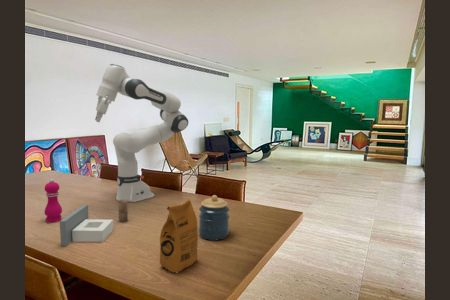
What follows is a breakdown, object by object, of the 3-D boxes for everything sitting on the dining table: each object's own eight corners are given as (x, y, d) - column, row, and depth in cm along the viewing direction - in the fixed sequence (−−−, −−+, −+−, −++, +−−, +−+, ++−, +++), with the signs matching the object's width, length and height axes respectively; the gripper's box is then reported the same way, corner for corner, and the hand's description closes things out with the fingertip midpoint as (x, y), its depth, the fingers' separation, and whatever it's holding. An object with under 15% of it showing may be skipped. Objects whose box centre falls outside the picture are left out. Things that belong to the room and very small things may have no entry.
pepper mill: (44, 224, 133) (41, 181, 131) (45, 218, 140) (43, 178, 137) (62, 221, 137) (60, 180, 134) (62, 216, 143) (60, 176, 140)
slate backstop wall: (88, 225, 132) (87, 204, 131) (66, 246, 113) (65, 221, 111) (84, 225, 132) (83, 204, 131) (61, 246, 112) (59, 221, 111)
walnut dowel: (125, 218, 142) (125, 199, 141) (129, 221, 139) (128, 201, 138) (117, 220, 139) (117, 200, 138) (120, 223, 136) (120, 202, 135)
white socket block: (113, 230, 129) (113, 219, 128) (103, 242, 117) (102, 230, 116) (85, 230, 128) (85, 219, 128) (72, 242, 117) (72, 230, 116)
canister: (217, 244, 118) (218, 201, 115) (192, 236, 124) (193, 196, 122) (234, 233, 128) (235, 194, 126) (210, 226, 135) (210, 189, 133)
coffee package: (155, 266, 100) (155, 204, 97) (181, 252, 110) (181, 196, 107) (175, 276, 94) (176, 211, 91) (201, 261, 104) (202, 201, 101)
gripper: (114, 97, 138) (104, 125, 138) (111, 97, 156) (102, 121, 156) (101, 92, 135) (91, 120, 135) (99, 92, 153) (90, 117, 153)
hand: (97, 121), depth 146 cm, fingers open, 8 cm apart
